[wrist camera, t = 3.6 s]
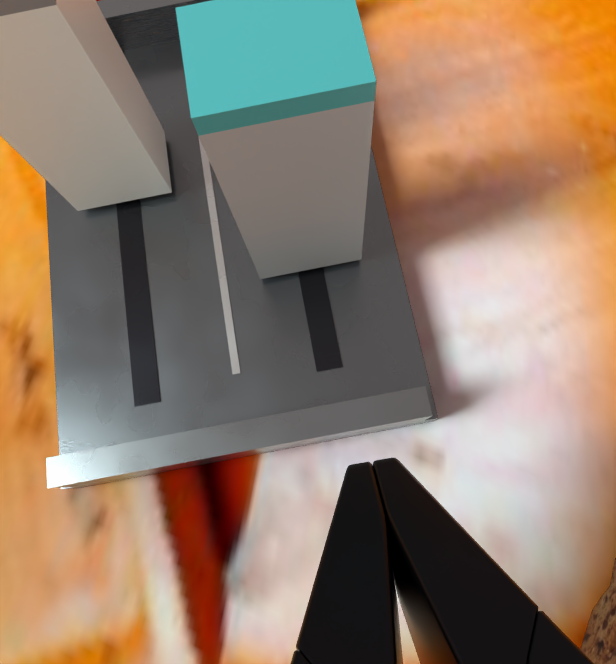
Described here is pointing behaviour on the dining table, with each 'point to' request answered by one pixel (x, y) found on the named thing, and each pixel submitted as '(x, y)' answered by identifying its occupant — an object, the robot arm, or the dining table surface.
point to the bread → (602, 628)
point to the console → (212, 314)
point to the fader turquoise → (284, 123)
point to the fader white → (77, 104)
